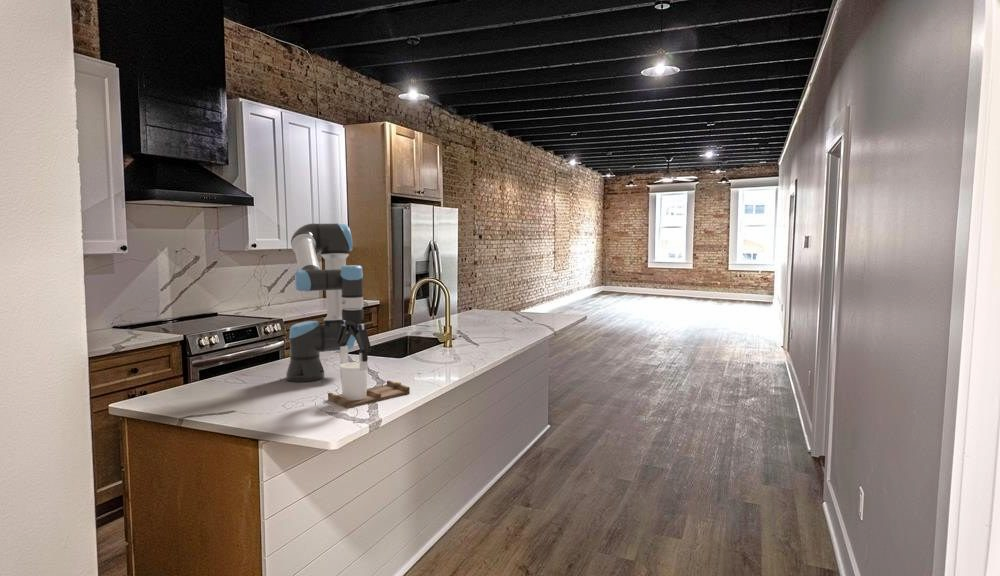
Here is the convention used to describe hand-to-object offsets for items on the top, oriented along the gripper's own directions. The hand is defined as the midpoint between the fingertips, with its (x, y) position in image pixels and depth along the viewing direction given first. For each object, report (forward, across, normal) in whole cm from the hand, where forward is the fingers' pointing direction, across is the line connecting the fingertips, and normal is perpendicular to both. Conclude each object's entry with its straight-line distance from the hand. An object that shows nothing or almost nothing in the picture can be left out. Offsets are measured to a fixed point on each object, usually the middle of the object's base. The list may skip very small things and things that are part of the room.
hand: (353, 366), depth 205 cm
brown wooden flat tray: (+12, 0, +6) cm, 14 cm away
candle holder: (+11, 0, 0) cm, 11 cm away
